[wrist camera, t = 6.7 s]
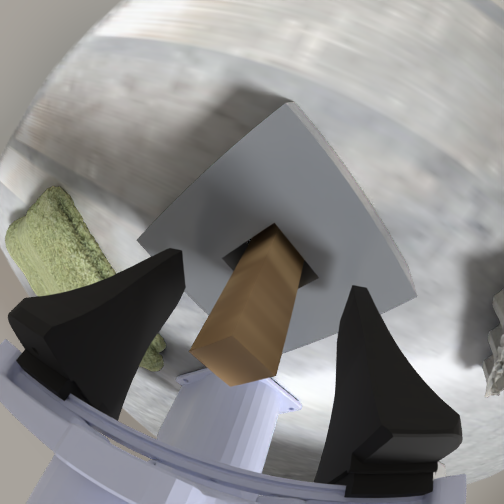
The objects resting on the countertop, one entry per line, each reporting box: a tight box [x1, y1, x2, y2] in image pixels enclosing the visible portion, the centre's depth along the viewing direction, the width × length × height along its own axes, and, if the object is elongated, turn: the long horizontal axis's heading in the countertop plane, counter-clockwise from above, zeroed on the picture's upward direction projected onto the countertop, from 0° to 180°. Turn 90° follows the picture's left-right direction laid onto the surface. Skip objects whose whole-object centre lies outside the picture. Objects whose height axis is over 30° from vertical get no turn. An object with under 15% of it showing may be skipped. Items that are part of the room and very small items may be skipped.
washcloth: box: [5, 186, 166, 372], centre depth 22 cm, size 13×18×3 cm
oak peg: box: [189, 223, 304, 387], centre depth 12 cm, size 2×2×8 cm
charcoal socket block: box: [137, 102, 417, 354], centre depth 14 cm, size 10×10×2 cm
